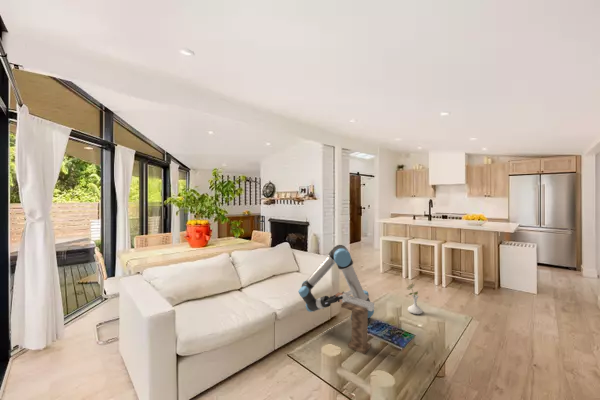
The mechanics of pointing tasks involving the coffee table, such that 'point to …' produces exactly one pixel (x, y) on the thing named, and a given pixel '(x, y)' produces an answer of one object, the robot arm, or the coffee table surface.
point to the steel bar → (357, 302)
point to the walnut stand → (358, 328)
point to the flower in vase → (414, 307)
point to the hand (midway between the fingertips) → (348, 294)
